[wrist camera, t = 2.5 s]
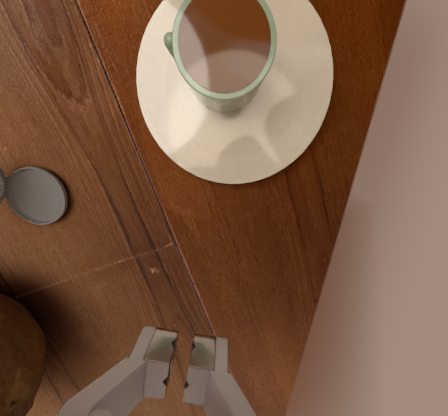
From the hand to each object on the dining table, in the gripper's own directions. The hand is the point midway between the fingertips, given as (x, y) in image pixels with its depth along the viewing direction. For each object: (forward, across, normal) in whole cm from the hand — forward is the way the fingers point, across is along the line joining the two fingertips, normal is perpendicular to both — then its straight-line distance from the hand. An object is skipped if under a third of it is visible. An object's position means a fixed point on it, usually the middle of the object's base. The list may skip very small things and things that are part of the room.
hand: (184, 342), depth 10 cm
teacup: (+15, +1, -15) cm, 21 cm away
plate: (+17, 0, -14) cm, 22 cm away
